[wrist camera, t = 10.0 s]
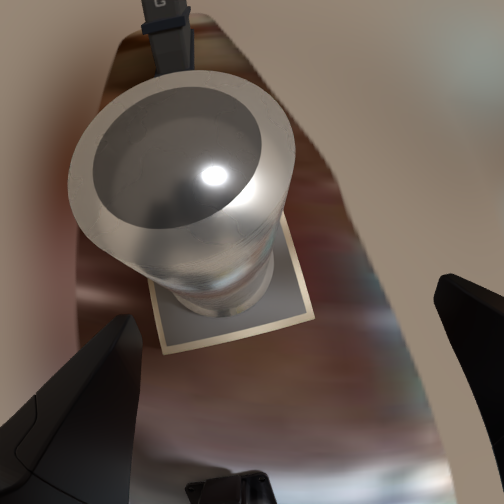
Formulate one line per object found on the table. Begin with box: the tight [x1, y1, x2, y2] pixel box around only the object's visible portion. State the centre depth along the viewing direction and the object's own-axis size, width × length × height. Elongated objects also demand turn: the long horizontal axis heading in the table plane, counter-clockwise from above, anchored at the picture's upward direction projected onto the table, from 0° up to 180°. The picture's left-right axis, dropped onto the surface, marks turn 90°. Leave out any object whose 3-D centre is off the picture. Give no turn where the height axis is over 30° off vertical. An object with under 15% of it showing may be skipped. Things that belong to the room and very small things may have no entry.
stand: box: [147, 211, 315, 355], centre depth 20 cm, size 10×10×3 cm
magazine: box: [141, 0, 194, 78], centre depth 23 cm, size 4×13×15 cm, turn 9°
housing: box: [68, 70, 295, 318], centre depth 13 cm, size 7×7×12 cm
